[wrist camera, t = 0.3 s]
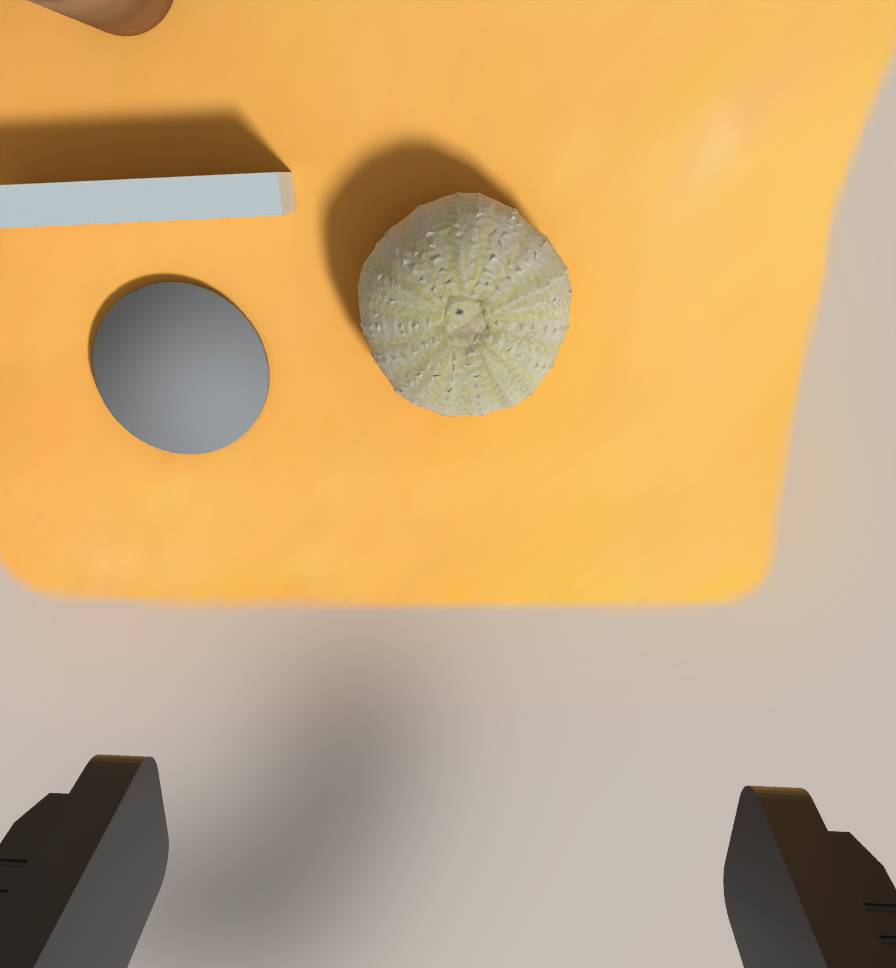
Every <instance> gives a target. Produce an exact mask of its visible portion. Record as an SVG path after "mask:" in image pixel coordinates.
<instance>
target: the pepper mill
mask: <svg viewBox="0 0 896 968" xmlns="http://www.w3.org/2000/svg"><path fill="white" fill-rule="evenodd" d="M28 1H31V2H33V3H36V4H38V5H41V6H43V7H45V8H48V9H50V10H53V11H55V12H58V13H60V14H63V15H65V16H68V17H70V18H73V19H75V20H78V21H80V22H82V23H85V24H87V25H90V26H92V27H95V28H97V29H100V30H102V31H105V32H107V33H110V34H114V35H119V36H133V35H138V34H142V33H145V32H147V31H149V30H151V29H152V28H154V27H155V26H156V25H157V24H159V23H160V22H161V21H162V19H163V18H164V17H165V16H166V14H167V13H168V11H169V9H170V7H171V5H172V3H173V0H28Z"/></svg>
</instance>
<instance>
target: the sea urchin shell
mask: <svg viewBox="0 0 896 968" xmlns="http://www.w3.org/2000/svg"><path fill="white" fill-rule="evenodd" d="M567 269H568V268H567V267H566V265H565V264H564V262H563V260H562V259H561V257H560V256H559V255H558V253H557V252H556V250H555V249H554V248H553V246H552V244H551V243H550V242H549V240H548V237H547V236H545V235H544V234H542V233H541V232H540V231H539V230H538V229H536V228H535V227H534V226H532V225H531V224H530V223H529V222H528V221H527V220H526V219H525V218H524V217H523V216H522V215H520V214H519V212H518V211H517V209H516V208H512V207H510V206H507V205H504V204H502V203H501V202H499V201H496V200H494V199H492V198H490V197H487V196H485V195H483V194H481V193H480V192H479V193H460V192H456V193H454V194H453V195H446V196H444V197H442V198H439V199H437V200H434V201H431V202H428V203H426V204H424V205H418V206H417V208H416V209H415V210H414V211H412V212H411V213H410V214H409V215H407V216H406V217H405V218H404V219H403V220H401V221H400V222H399V223H397V224H396V225H394V226H392V227H391V228H390V229H389V230H388V231H387V232H385V233H384V235H383V237H382V238H381V239H380V240H379V241H378V242H377V243H376V244H375V247H374V250H373V251H372V252H371V254H370V255H369V256H368V258H367V260H366V261H365V262H364V263H363V265H362V271H361V274H360V278H359V283H358V284H357V288H358V300H359V311H360V318H361V322H360V326H361V327H362V330H363V334H364V335H365V336H366V340H367V342H368V343H369V346H370V348H371V351H372V354H371V355H372V356H373V358H374V362H375V363H377V365H378V366H379V368H380V369H381V371H382V372H383V373H384V375H385V376H386V377H387V379H388V380H389V382H390V383H391V385H392V386H393V388H394V390H395V392H396V393H398V394H400V395H401V396H402V397H404V398H405V399H407V400H408V401H409V403H410V404H415V405H417V406H419V407H422V408H425V409H429V410H432V411H434V412H437V413H439V414H441V415H448V416H458V415H470V416H471V415H478V414H479V415H482V416H483V415H485V414H487V413H488V412H492V411H496V410H500V409H507V408H510V407H512V406H515V405H516V404H518V403H519V402H521V401H523V400H524V399H526V398H527V397H528V396H529V395H532V394H533V392H534V390H535V389H536V388H537V386H538V385H539V383H540V381H541V380H542V379H543V377H544V376H545V375H546V373H547V372H548V371H549V370H550V369H551V368H553V365H554V360H555V358H556V355H557V353H558V350H559V348H560V346H561V344H562V342H563V339H564V337H565V334H566V332H567V330H568V329H569V323H568V322H569V313H570V303H571V297H572V287H571V285H570V280H569V275H568V270H567Z"/></svg>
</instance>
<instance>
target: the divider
mask: <svg viewBox="0 0 896 968" xmlns="http://www.w3.org/2000/svg"><path fill="white" fill-rule="evenodd" d="M292 212H296V209H295V199H294V190H293V180H292V172H268V173H247V174H226V175H205V176H183V177H162V178H141V179H120V180H99V181H77V182H56V183H35V184H14V185H0V228H11V227H33V226H55V225H76V224H98V223H120V222H142V221H163V220H185V219H207V218H228V217H250V216H272V215H284V214H288V213H292Z"/></svg>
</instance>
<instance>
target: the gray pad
mask: <svg viewBox="0 0 896 968" xmlns="http://www.w3.org/2000/svg"><path fill="white" fill-rule="evenodd" d="M92 365H93V372H94V377H95V381H96V385H97V388H98V390H99V393H100V395H101V397H102V399H103V401H104V403H105V405H106V406H107V408H108V409H109V411H110V412H111V414H112V415H113V416H114V418H115V419H116V420H117V421H118V422H119V423H120V424H121V425H122V426H123V427H124V428H125V429H126V430H128V431H129V432H130V433H131V434H133V435H134V436H135V437H137V438H138V439H140V440H142V441H143V442H145V443H147V444H149V445H151V446H154V447H156V448H159V449H161V450H165V451H169V452H173V453H180V454H200V453H207V452H211V451H215V450H218V449H220V448H223V447H225V446H227V445H229V444H231V443H233V442H234V441H236V440H237V439H238V438H240V437H241V436H242V435H243V434H244V433H245V432H246V431H247V430H248V429H249V428H250V427H251V426H252V424H253V423H254V422H255V420H256V419H257V418H258V416H259V414H260V412H261V410H262V409H263V406H264V403H265V401H266V398H267V393H268V388H269V365H268V359H267V355H266V351H265V348H264V345H263V343H262V341H261V339H260V336H259V334H258V332H257V331H256V329H255V328H254V326H253V325H252V323H251V322H250V321H249V319H248V318H247V317H246V316H245V314H244V313H243V312H242V311H241V310H240V309H239V308H237V307H236V306H235V305H234V304H233V303H231V302H230V301H229V300H228V299H226V298H225V297H223V296H221V295H220V294H218V293H216V292H214V291H212V290H210V289H207V288H205V287H202V286H199V285H195V284H191V283H185V282H160V283H155V284H151V285H147V286H144V287H141V288H139V289H137V290H134V291H132V292H130V293H129V294H127V295H125V296H124V297H122V298H121V299H120V300H119V301H118V302H116V303H115V304H114V305H113V306H112V308H111V309H110V310H109V311H108V312H107V314H106V315H105V317H104V318H103V320H102V321H101V323H100V326H99V328H98V330H97V333H96V336H95V340H94V345H93V352H92Z"/></svg>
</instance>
